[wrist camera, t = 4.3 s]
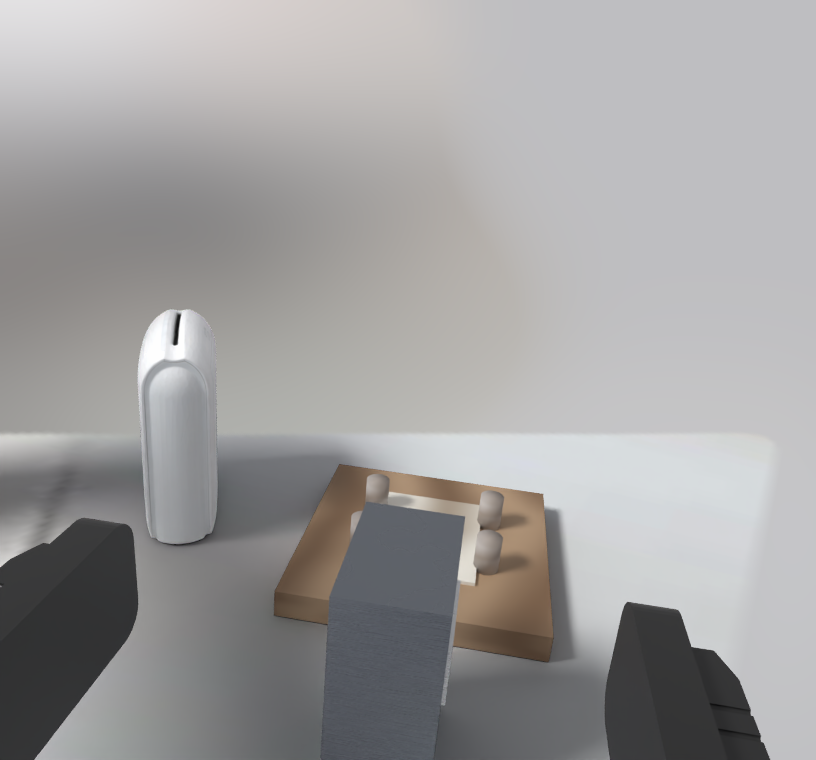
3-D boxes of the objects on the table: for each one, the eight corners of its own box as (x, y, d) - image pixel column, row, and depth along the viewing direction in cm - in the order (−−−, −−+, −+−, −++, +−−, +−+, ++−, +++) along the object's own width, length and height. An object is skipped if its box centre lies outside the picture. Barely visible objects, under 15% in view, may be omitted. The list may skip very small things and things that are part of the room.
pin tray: (274, 615, 36) (275, 558, 35) (338, 483, 49) (340, 438, 48) (548, 662, 34) (560, 604, 33) (539, 513, 47) (547, 467, 46)
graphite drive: (317, 814, 26) (329, 596, 23) (352, 692, 32) (366, 501, 28) (427, 836, 26) (457, 617, 22) (443, 708, 31) (469, 517, 28)
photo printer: (154, 464, 49) (145, 293, 45) (217, 461, 50) (215, 294, 46) (141, 550, 40) (128, 346, 36) (219, 545, 41) (215, 346, 37)
